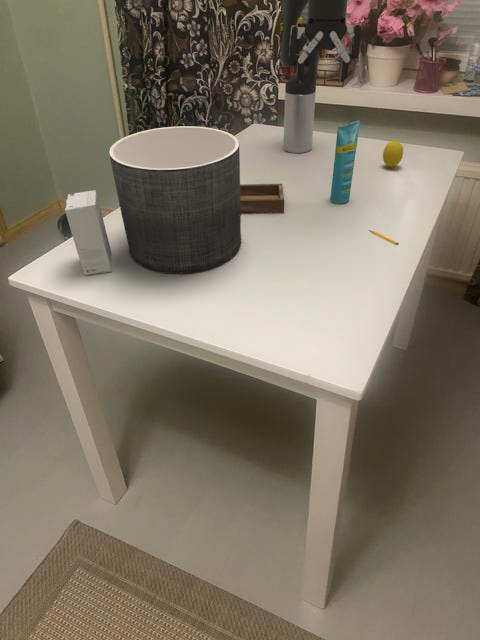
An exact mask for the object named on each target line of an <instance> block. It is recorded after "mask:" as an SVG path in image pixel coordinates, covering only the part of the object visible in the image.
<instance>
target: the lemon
mask: <svg viewBox="0 0 480 640" xmlns="http://www.w3.org/2000/svg"><path fill="white" fill-rule="evenodd" d="M403 155H404V147H403V144H402V143H401V142H400V141H398V140H397V139H394V140H392V141H390V142H388V143H387V144H386V145H385V147H384V149H383V153H382V160H383V163H384V164H385V165H387V166H388V167H389V168H390V169H391V168H393V167H395V166H397V165H398V164H400V162H402V159H403Z"/></svg>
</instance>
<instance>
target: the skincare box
mask: <svg viewBox="0 0 480 640" xmlns="http://www.w3.org/2000/svg"><path fill="white" fill-rule="evenodd" d="M65 202H66V205H65V209H64V212H65V215H66V219H67V222H68V225H69V229H70V232H71V235H72V240H73V243H74V245H75V248H76V252H77V255H78V259H79V262H80V265H81V269H82V272H83V275H84V276H89V275H94V274H106V273H111V272H112V271H113V269H112V256H113V255H112V254H113V253H112V248H111V246H110V241H109V238H108V234H107V229H106V225H105V222H104V218H103V214H102V210H101V207H100V203H99V198H98V194H97V190H95V189H94V190H87V191H81V192H74V193H69V194H67V199H66V200H65Z"/></svg>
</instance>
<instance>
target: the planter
mask: <svg viewBox="0 0 480 640" xmlns="http://www.w3.org/2000/svg"><path fill="white" fill-rule="evenodd" d="M108 153H109V159H110V164H111V169H112V174H113V178H114V184H115V189H116V195H117V197H118V203H119V204H118V205H119V209H120V214H121V217H122V222H123V227H124V232H125V236H126V241H127V246H128V247H127V248H128V252H129V255H130V257H131V258H132V260H133V262H135V263H136V264H137V265H139V266H141V267H142V268H145V269H147V270H150V271H155V272H158V273H162V274H163V273H164V274H176V275H177V274H178V275H179V274H180V275H181V274H192V273H193V274H194V273H198V272H204V271H206V270H210V269H213V268H214V269H215V268H216V267H219V266H221V265H223V264H225V263H226V262H228V261H230V260H231V259H232V258H234V256H236V254H237V253H238V252H239V250H240V249H241V246H242V233H241V232H242V229H241V221H242V220H241V218H242V217H241V215H242V214H241V210H240V184H241V168H240V167H241V162H240V161H241V159H240V155H241V153H240V141H239V140H238V138H237V137H236V136H234V135H233V134H232V133H229V132H227V131H224V130H221V129H217V128H213V127H212V128H211V127H205V126H195V125H194V126H193V125H191V126H189V125H188V126H187V125H185V126H184V125H183V126H181V125H180V126H167V127H160V128H159V127H157V128H152V129H147V130H142V131H138V132H136V133H132V134H130V135H129V134H128V135H127V136H125V137H123V138H120V139H118V140H117V141H116V142H114V143H113V144H112V145H111V146H110V148H109V150H108Z"/></svg>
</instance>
